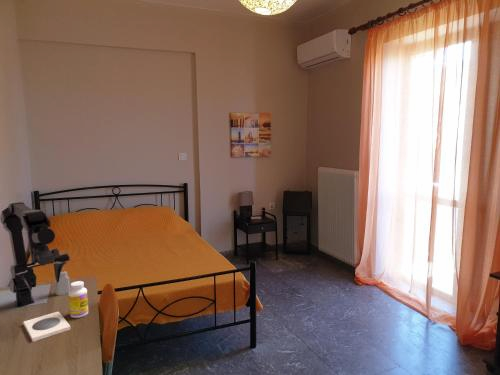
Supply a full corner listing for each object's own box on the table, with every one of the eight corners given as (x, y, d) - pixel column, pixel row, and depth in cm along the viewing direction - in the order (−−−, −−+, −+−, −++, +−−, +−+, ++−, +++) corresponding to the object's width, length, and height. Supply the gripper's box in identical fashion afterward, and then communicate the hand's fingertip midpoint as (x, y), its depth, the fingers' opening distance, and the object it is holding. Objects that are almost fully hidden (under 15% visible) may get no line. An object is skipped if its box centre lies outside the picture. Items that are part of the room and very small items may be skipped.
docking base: (23, 324, 136) (23, 321, 136) (58, 314, 144) (58, 310, 143) (32, 341, 124) (32, 338, 124) (70, 329, 132) (70, 325, 132)
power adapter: (56, 293, 164) (53, 267, 162) (69, 290, 167) (67, 265, 165) (57, 295, 161) (54, 269, 160) (70, 292, 164) (68, 267, 163)
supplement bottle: (81, 319, 139) (78, 287, 138) (66, 317, 140) (63, 286, 139) (92, 311, 146) (90, 280, 144) (77, 310, 147) (75, 279, 145)
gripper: (15, 250, 123) (23, 295, 123) (72, 238, 137) (78, 279, 137) (6, 250, 131) (13, 293, 131) (61, 239, 145) (67, 278, 145)
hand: (44, 285), depth 136 cm, fingers open, 9 cm apart
